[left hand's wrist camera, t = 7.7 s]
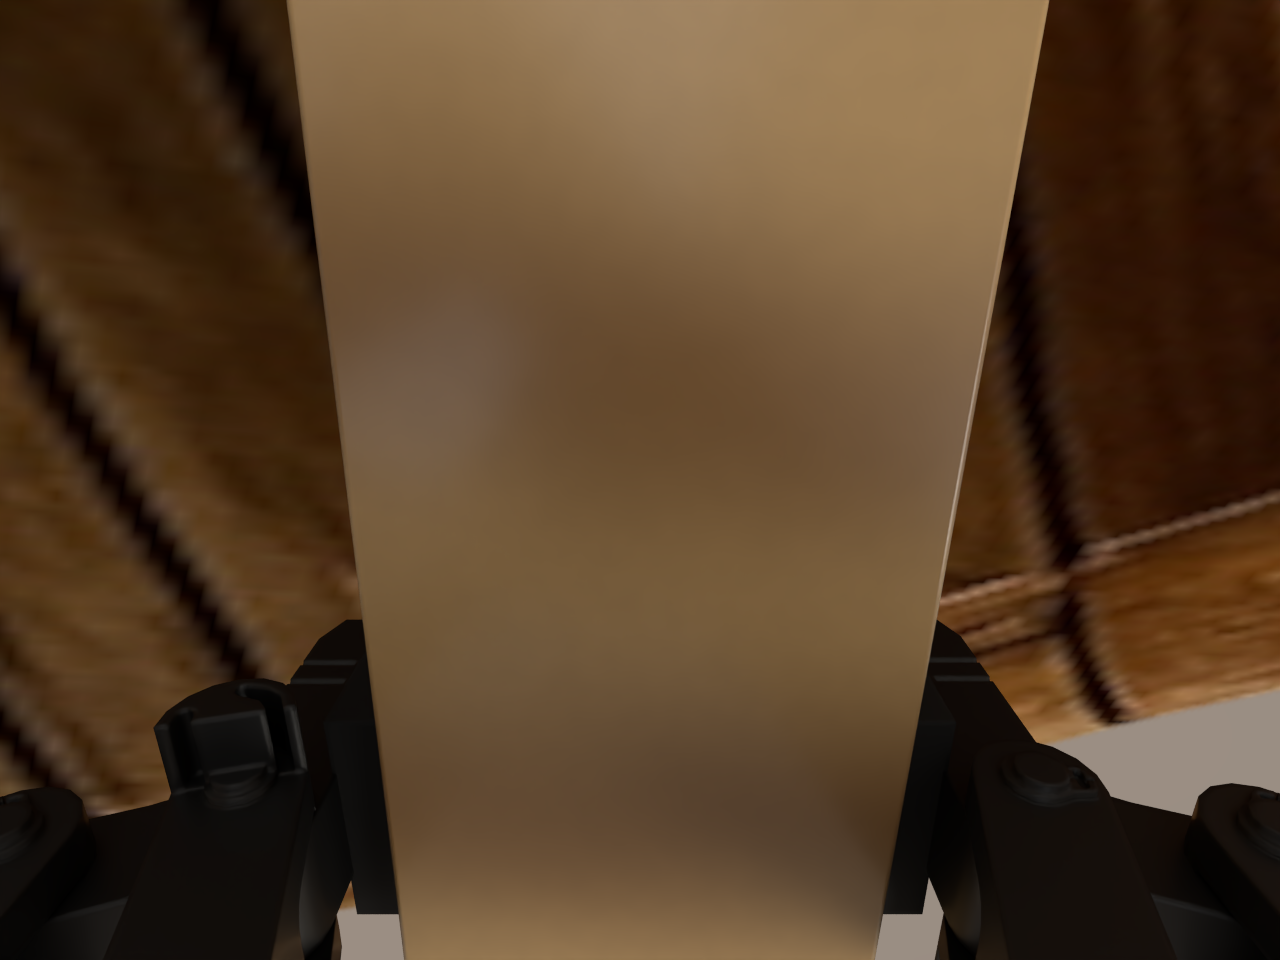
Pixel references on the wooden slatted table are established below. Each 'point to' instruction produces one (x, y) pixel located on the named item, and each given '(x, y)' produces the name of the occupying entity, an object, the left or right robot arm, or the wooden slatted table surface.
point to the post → (654, 442)
